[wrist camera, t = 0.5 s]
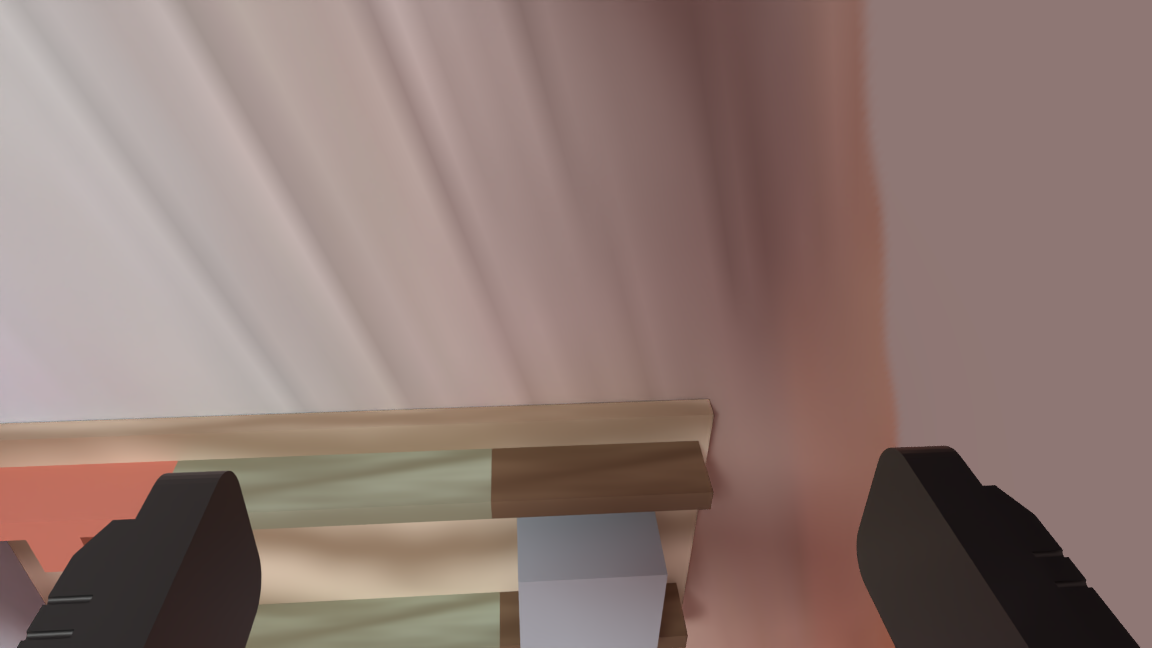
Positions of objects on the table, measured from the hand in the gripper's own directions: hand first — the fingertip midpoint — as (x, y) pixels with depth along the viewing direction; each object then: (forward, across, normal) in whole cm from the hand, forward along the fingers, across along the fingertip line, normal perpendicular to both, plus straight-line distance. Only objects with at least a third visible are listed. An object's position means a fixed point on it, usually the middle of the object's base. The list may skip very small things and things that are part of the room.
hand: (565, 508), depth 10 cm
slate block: (+19, -2, +20) cm, 28 cm away
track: (+20, +8, +20) cm, 30 cm away
